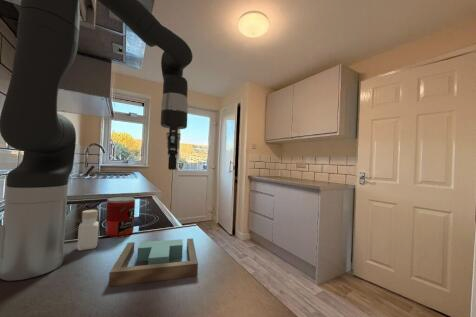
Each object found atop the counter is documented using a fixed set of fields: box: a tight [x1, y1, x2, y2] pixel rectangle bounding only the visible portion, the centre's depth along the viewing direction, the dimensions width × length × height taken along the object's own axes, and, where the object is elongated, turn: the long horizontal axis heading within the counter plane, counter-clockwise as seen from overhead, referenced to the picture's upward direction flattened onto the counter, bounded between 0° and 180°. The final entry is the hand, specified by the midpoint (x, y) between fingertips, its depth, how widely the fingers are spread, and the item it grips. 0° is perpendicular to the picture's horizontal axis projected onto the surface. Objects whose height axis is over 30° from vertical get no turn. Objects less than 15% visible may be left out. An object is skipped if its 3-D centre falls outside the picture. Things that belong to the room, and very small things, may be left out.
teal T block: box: [136, 239, 184, 265], centre depth 47 cm, size 10×10×3 cm
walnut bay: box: [108, 238, 199, 287], centre depth 46 cm, size 16×14×2 cm
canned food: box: [105, 196, 136, 238], centre depth 64 cm, size 8×8×11 cm
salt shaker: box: [76, 209, 100, 251], centre depth 53 cm, size 4×4×10 cm
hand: (172, 169), depth 60 cm, fingers closed
